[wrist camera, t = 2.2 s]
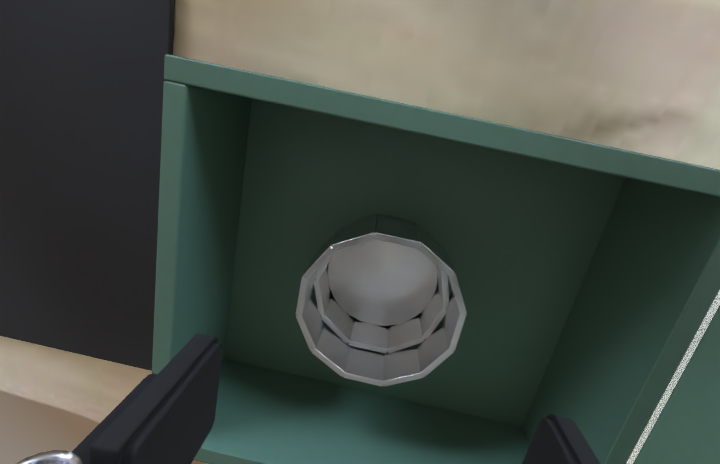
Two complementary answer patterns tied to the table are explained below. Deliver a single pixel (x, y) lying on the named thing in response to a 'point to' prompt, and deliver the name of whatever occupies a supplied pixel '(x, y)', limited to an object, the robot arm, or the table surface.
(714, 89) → the table surface
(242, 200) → the open green box
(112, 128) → the mat
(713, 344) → the lid
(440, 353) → the bowl
